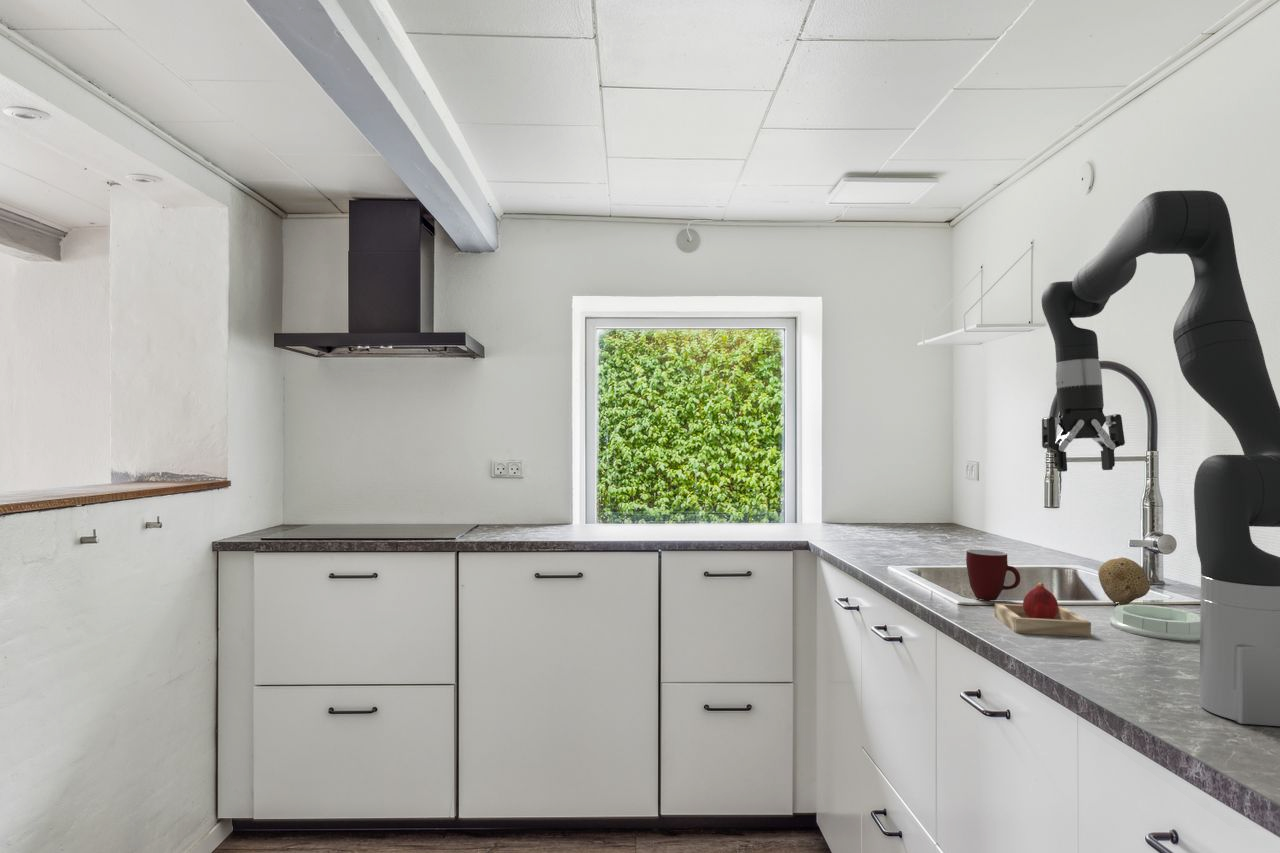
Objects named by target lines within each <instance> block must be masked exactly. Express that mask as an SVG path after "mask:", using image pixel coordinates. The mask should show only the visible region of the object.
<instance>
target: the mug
mask: <svg viewBox="0 0 1280 853" xmlns="http://www.w3.org/2000/svg"><path fill="white" fill-rule="evenodd" d="M965 560H966V561H965V562H966V569H967V576H968V581H969V587H970V589H971V591H972V592H973V595H974V597H975V598H976V599H978V600H981V601H988V602H990V601H991V602H992V601H997V599H998V597H999V596H1000V594H1001V592H1002V591H1003V590H1004V591H1005V590H1006V591H1007V590H1014V589H1015V588H1017V587H1018V586H1019V585H1020V583H1021V574H1020V572H1019V570H1017V568H1015V567H1014V566H1012V565H1008V562H1009V561H1008V554H1007V553H1006V552H1003V551H999V550H992V549H991V550H990V549H968V550H966V558H965ZM1007 571H1008V572H1012V573H1013V575H1014V582H1013V584H1011V585H1005V580H1006V575H1007Z"/></svg>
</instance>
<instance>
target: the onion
mask: <svg viewBox="0 0 1280 853" xmlns="http://www.w3.org/2000/svg"><path fill="white" fill-rule="evenodd" d="M1022 605H1023V609H1024V611H1025V613H1026V615H1027V616H1028V617H1029V618H1041V619H1054V617H1055V616H1056V615H1057V612H1058V606H1059V603H1058V600H1057V598H1056V596H1055V595H1054V594H1053V593H1052V592H1051V591H1050V590H1048V589H1047V588H1045V585H1044V583H1042V582H1038V583H1037V585H1036V587H1035V588H1033V589H1031V590H1029V591H1028V592H1027V594H1026V595H1025V596H1024V598H1023V601H1022Z"/></svg>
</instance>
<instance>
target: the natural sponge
mask: <svg viewBox="0 0 1280 853" xmlns="http://www.w3.org/2000/svg"><path fill="white" fill-rule="evenodd" d="M1097 575H1098V579H1099V583H1100V586H1101V588H1102V590H1103V592H1104V594H1105V595H1106V596H1107V597H1108V599H1109V600H1110V601H1111V602H1113V603H1114V602H1119V603H1117V604H1120V605H1128V604H1131V603H1132V602H1133V601H1135V600H1138V599H1141V598H1142V597H1144V596H1146V595H1147V594H1148V593H1149V591H1150V590H1151V583H1150V579H1149V577H1148V576H1147V574H1146V572H1145V570H1144V569H1143V567H1142V566H1141V565H1140V564H1138V562H1135V561H1134V560H1132V559H1130V558H1126V557H1118V558H1111V559H1108V560H1106V561H1105V562H1104V563H1103V564H1102V565H1101V566H1100V567H1099V568H1098V571H1097ZM1117 604H1116V605H1117Z"/></svg>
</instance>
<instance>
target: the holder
mask: <svg viewBox="0 0 1280 853" xmlns="http://www.w3.org/2000/svg"><path fill="white" fill-rule="evenodd" d="M994 618H997V619H998V620H999V621H1000V622H1002V623H1003V624H1004V625H1006V626H1007V627H1008V628H1009V629H1010V630H1012V631H1013V632H1014V633H1017V634H1031V635H1032V634H1033V635H1051V636H1052V635H1053V636H1054V635H1055V636H1071V637H1087V638H1088V637H1089V638H1090V637H1091V636H1092V622H1091V621H1089V620H1088V619H1085V618H1084V617H1082V616H1080V615H1079V614H1077V613H1075V612H1073V611H1071V610H1070V609H1069V608H1066V607H1065V606H1060V605H1058V612H1057V615H1056V616H1055V617H1054V619H1041V618H1029V617H1028V616H1027V615H1026V613H1025V611H1024V609H1023V603H1022V604H1021V603H1020V604H1019V603H999V602H997V603H994Z"/></svg>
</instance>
